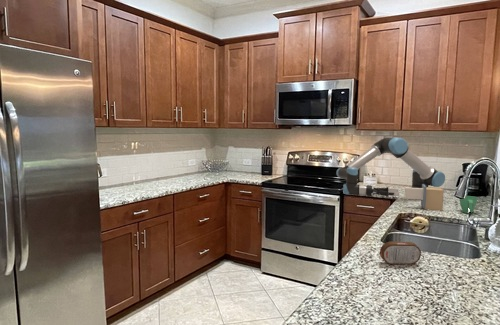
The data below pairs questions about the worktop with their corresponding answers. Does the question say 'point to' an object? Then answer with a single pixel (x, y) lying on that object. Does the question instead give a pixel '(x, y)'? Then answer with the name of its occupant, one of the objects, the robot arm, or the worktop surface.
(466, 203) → the mug
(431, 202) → the carton
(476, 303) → the worktop surface
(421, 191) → the flap
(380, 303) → the worktop surface
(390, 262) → the tin
